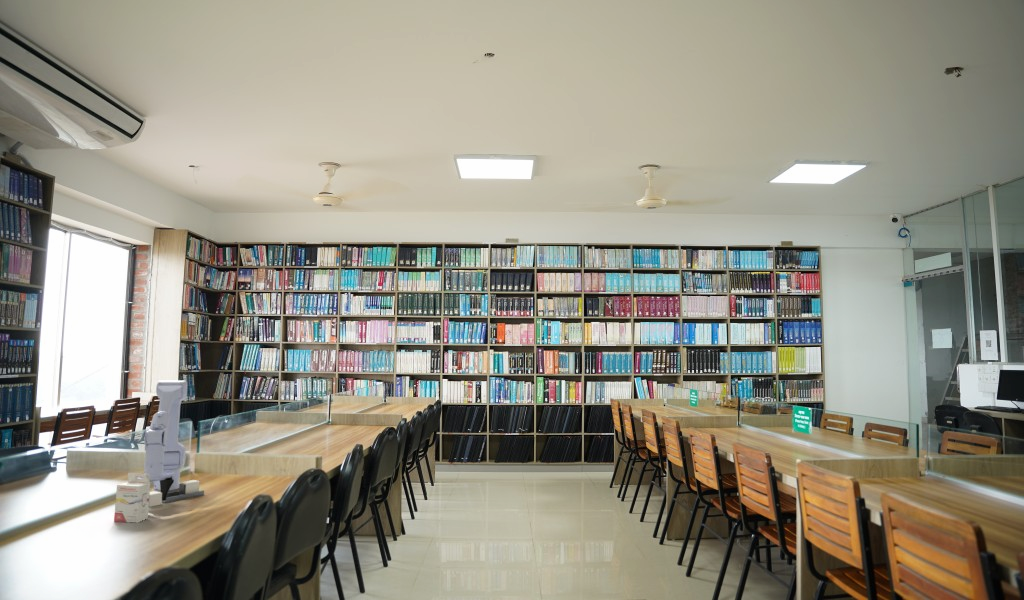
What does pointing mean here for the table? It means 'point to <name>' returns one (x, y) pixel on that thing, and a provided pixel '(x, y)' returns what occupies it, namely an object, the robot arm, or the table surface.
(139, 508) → the ink cartridge box
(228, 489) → the table surface
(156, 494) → the white cardboard box
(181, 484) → the white and grey block
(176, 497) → the sliding window
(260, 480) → the table surface
